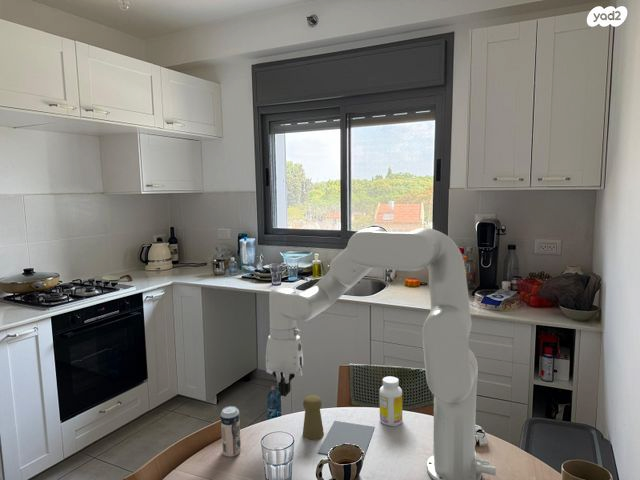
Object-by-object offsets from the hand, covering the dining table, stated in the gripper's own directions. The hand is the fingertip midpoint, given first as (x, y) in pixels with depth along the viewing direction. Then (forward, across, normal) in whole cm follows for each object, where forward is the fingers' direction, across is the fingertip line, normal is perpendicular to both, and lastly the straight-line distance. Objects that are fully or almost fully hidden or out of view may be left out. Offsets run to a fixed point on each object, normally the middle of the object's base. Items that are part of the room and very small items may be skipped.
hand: (284, 394), depth 123 cm
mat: (+11, -18, 0) cm, 21 cm away
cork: (+11, -8, 0) cm, 14 cm away
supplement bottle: (+11, -28, -13) cm, 33 cm away
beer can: (+11, +10, +14) cm, 20 cm away
